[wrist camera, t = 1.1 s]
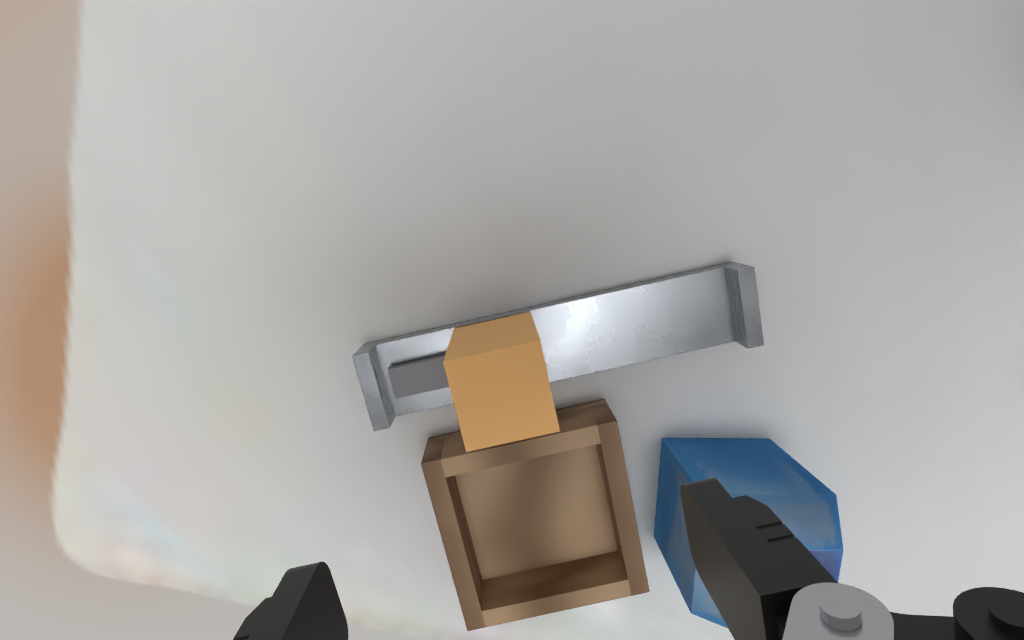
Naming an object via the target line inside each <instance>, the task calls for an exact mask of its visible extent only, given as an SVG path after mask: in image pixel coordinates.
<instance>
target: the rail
mask: <svg viewBox="0 0 1024 640" xmlns="http://www.w3.org/2000/svg"><path fill="white" fill-rule="evenodd" d="M527 312H531V315H532V318H533V320H534V323H535V326H536V329H537V332H538V335H539V338H540V341H541V345H542V350H543V355H544V359H545V364H546V369H547V373H548V378H549V382H553V381H558V380H562V379H567V378H571V377H576V376H580V375H585V374H589V373H594V372H598V371H603V370H607V369H612V368H616V367H621V366H625V365H630V364H634V363H639V362H643V361H648V360H653V359H657V358H662V357H666V356H671V355H675V354H680V353H684V352H689V351H693V350H698V349H702V348H707V347H711V346H716V345H720V344H725V343H729V342H734V341H736V342H737V343H739V344H741V345H743V346H745V347H746V348H753V347H757V346H762V345H764V342H763V334H762V326H761V318H760V310H759V302H758V294H757V286H756V279H755V271H754V267H752V266H748V265H744V264H739V263H735V262H729V263H724V264H720V265H715V266H711V267H706V268H702V269H697V270H693V271H688V272H684V273H679V274H675V275H670V276H666V277H661V278H657V279H652V280H648V281H643V282H639V283H635V284H630V285H626V286H621V287H617V288H612V289H608V290H603V291H599V292H594V293H590V294H585V295H581V296H576V297H572V298H567V299H563V300H558V301H554V302H549V303H545V304H540V305H536V306H531V307H527V308H522V309H518V310H514V311H509V312H505V313H500V314H496V315H491V316H487V317H482V318H478V319H473V320H469V321H464V322H460V323H455V324H451V325H446V326H442V327H437V328H433V329H428V330H424V331H419V332H415V333H410V334H406V335H401V336H397V337H392V338H388V339H384V340H379V341H375V342H370V343H366V344H363V346H362V347H361V348H360V349H359V350H358V351H357V352H356V353H355V354H354V355H353V356H352V358H353V361H354V364H355V368H356V371H357V375H358V378H359V381H360V385H361V388H362V392H363V395H364V398H365V402H366V405H367V409H368V412H369V415H370V419H371V422H372V426H373V429H374V431H377V430H382V429H386V428H390V426H391V424H392V422H393V419H394V417H395V416H399V415H404V414H408V413H413V412H417V411H422V410H427V409H431V408H436V407H440V406H445V405H449V404H454V403H453V399H452V395H451V391H450V387H446V388H442V389H437V390H433V391H428V392H424V393H419V394H415V395H410V396H406V397H401V398H397V399H395V395H394V392H393V388H392V385H391V381H390V377H389V374H388V370H387V369H388V368H389V367H390V366H394V365H399V364H403V363H408V362H412V361H417V360H421V359H426V358H430V357H435V356H439V355H444V354H446V351H447V348H448V345H449V342H450V339H451V336H452V333H453V329H455V328H460V327H464V326H469V325H473V324H478V323H482V322H487V321H491V320H496V319H500V318H505V317H509V316H514V315H518V314H523V313H527Z"/></svg>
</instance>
